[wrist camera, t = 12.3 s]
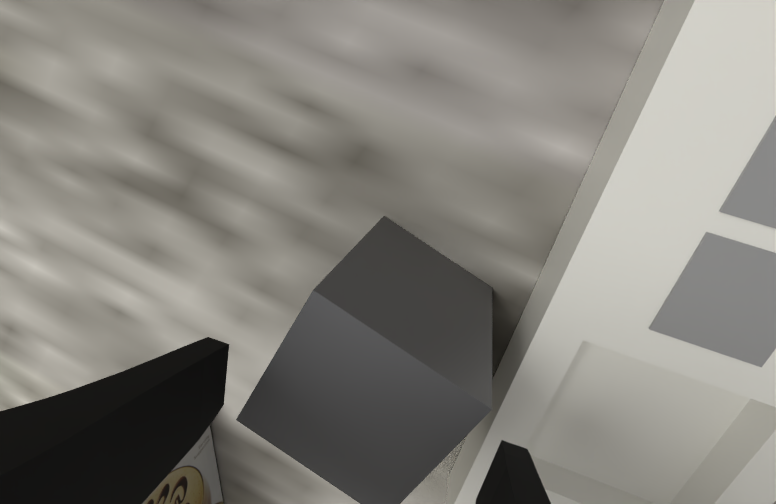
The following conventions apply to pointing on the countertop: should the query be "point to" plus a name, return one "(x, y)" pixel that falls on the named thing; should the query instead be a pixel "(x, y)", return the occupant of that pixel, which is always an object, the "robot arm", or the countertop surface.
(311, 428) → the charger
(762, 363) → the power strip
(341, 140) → the countertop surface
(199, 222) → the countertop surface
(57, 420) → the robot arm
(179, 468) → the coffee box
